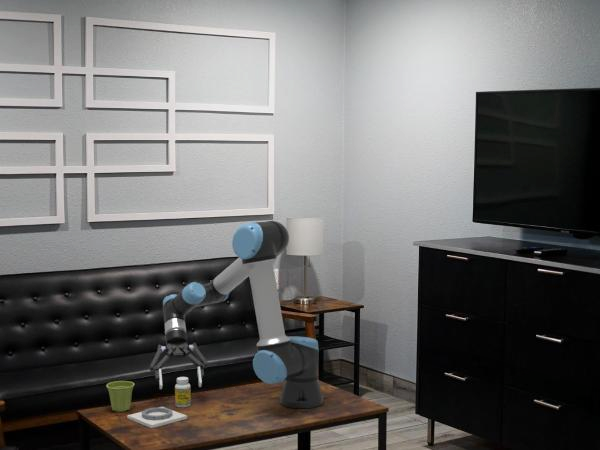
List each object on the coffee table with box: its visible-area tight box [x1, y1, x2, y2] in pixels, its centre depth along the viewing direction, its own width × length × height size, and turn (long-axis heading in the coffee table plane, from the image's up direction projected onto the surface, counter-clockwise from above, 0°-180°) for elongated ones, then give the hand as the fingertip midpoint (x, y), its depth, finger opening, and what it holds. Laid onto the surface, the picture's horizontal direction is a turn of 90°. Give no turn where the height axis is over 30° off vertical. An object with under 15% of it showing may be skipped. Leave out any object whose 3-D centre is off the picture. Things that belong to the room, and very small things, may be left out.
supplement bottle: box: [174, 376, 192, 408], centre depth 307 cm, size 5×5×10 cm
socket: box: [126, 406, 188, 429], centre depth 292 cm, size 14×14×2 cm
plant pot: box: [106, 380, 135, 413], centre depth 302 cm, size 9×9×9 cm
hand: (180, 386), depth 307 cm, fingers open, 13 cm apart
